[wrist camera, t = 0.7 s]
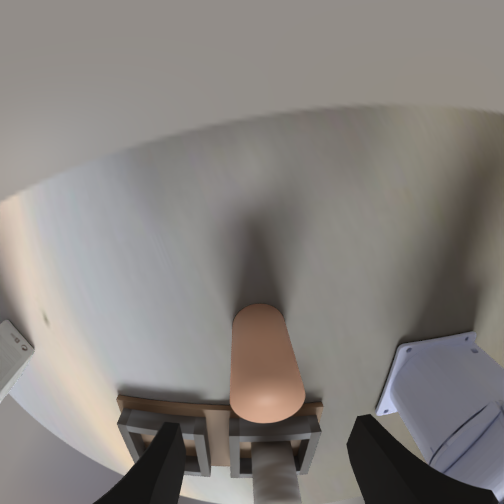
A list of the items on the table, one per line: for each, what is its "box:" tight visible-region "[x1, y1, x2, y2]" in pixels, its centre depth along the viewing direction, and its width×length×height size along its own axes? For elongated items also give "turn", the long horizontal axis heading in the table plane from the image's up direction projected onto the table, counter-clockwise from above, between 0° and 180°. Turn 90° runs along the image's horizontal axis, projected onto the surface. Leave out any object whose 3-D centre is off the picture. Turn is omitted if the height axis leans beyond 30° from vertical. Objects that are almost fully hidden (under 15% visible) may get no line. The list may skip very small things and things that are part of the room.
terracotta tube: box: [230, 304, 305, 423], centre depth 15 cm, size 4×4×7 cm
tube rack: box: [116, 395, 323, 504], centre depth 18 cm, size 17×9×8 cm, turn 88°
